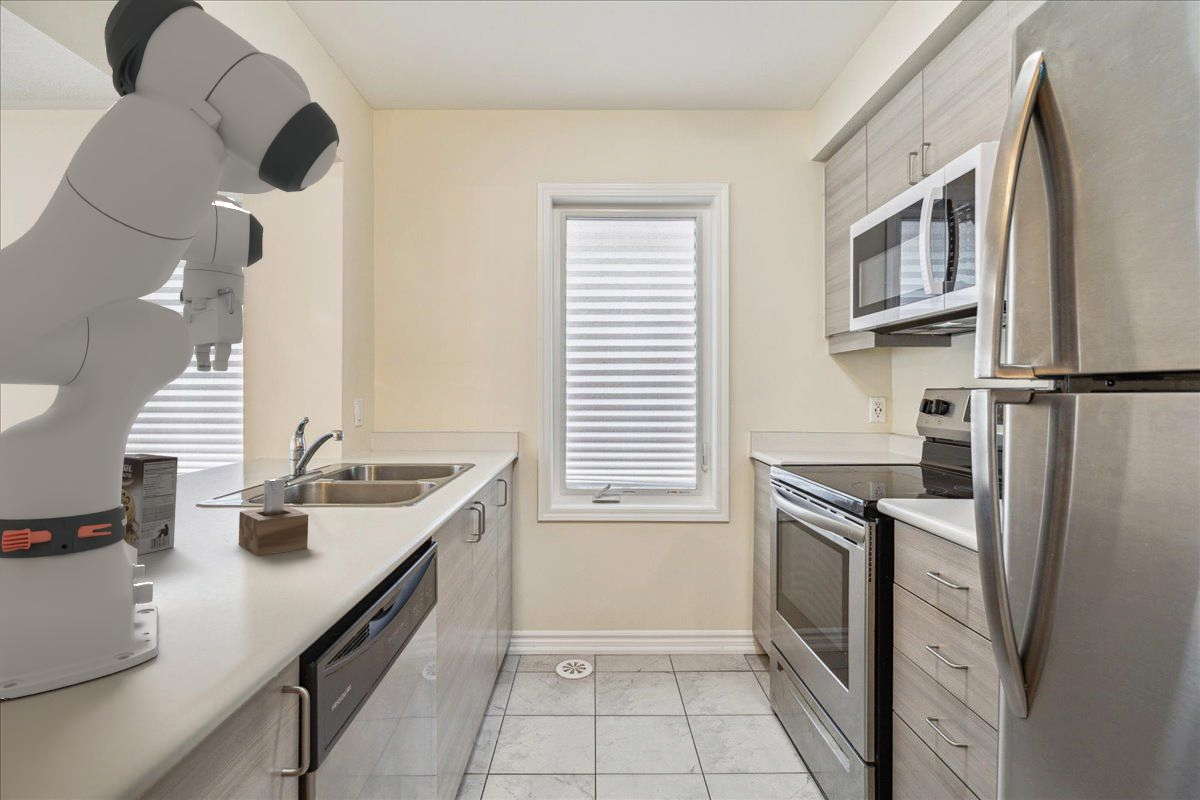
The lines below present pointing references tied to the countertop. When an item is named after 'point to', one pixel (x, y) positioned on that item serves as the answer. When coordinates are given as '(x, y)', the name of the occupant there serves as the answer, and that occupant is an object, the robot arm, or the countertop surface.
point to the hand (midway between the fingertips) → (211, 371)
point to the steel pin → (273, 497)
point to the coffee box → (149, 501)
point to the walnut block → (273, 531)
